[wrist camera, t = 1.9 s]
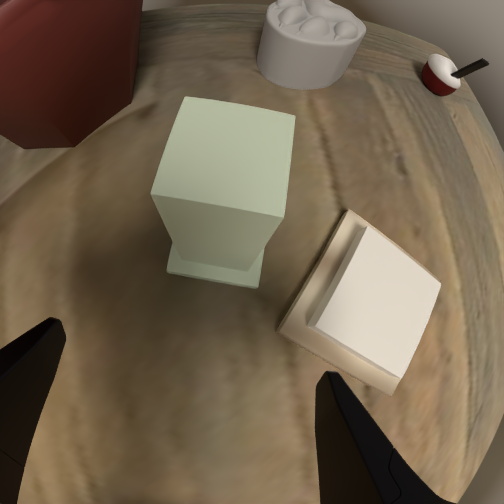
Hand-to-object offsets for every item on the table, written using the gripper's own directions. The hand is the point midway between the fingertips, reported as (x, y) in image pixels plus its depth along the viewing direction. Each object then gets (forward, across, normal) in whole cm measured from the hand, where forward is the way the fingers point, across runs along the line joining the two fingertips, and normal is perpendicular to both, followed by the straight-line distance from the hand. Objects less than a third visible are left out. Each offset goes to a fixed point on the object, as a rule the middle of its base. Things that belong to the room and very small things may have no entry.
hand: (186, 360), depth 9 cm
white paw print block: (+33, -5, -13) cm, 36 cm away
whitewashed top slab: (+12, -14, +6) cm, 19 cm away
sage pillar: (+15, 0, +4) cm, 16 cm away
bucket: (+26, +20, -6) cm, 34 cm away
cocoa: (+37, -27, -18) cm, 49 cm away
